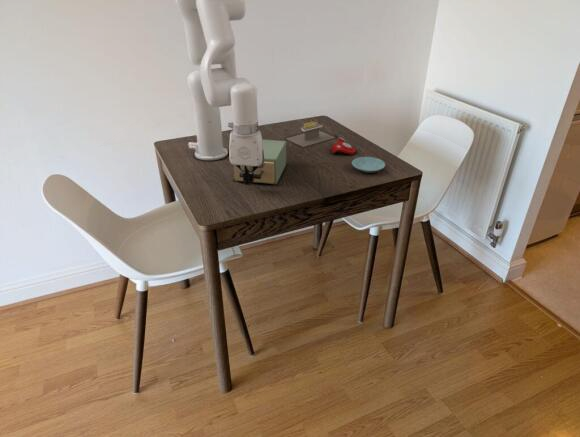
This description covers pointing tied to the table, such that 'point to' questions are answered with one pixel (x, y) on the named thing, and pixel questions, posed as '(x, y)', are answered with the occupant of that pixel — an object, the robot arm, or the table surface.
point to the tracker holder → (343, 147)
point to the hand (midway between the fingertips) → (248, 182)
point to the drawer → (259, 173)
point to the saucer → (368, 164)
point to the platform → (310, 135)
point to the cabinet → (274, 157)
